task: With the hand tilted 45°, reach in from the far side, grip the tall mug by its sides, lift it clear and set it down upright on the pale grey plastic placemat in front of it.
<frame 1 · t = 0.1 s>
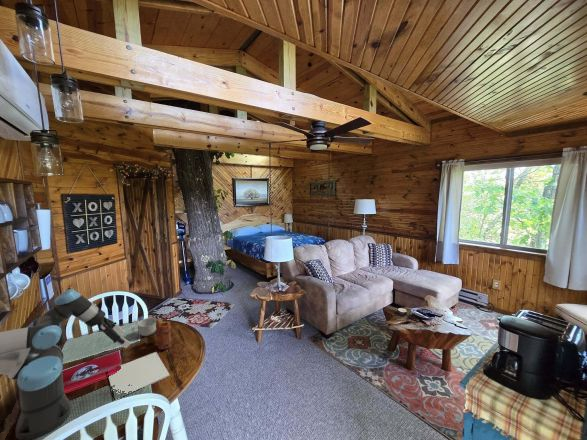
hand: (125, 339, 122), 15 cm above the table, tool tilted 35°, fingers open, 13 cm apart
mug: (163, 345, 143), on the table
teacup: (145, 334, 154), on the table
placemat: (138, 373, 120), on the table
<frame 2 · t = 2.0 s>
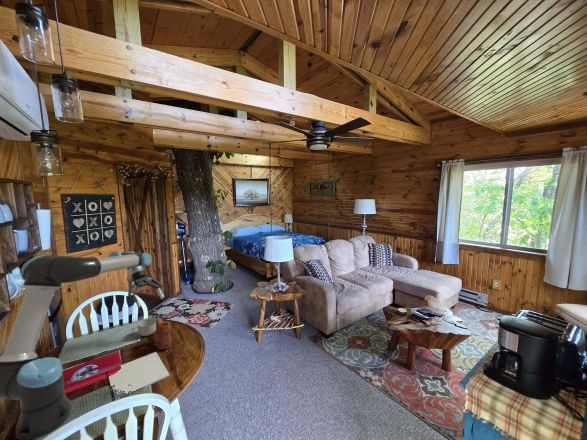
hand: (151, 302, 146), 24 cm above the table, tool tilted 45°, fingers open, 13 cm apart
nothing on the table moved.
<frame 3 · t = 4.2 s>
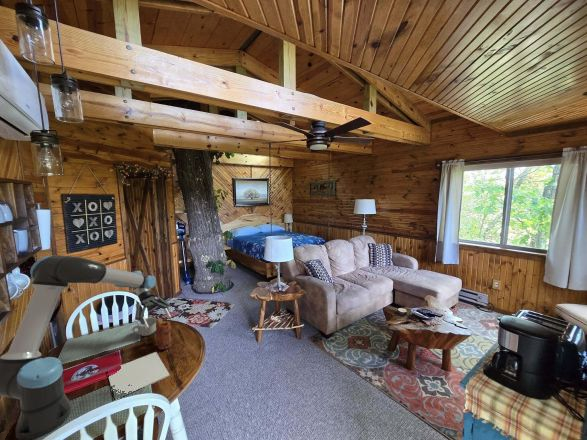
hand: (158, 322, 145), 12 cm above the table, tool tilted 45°, fingers open, 13 cm apart
nothing on the table moved.
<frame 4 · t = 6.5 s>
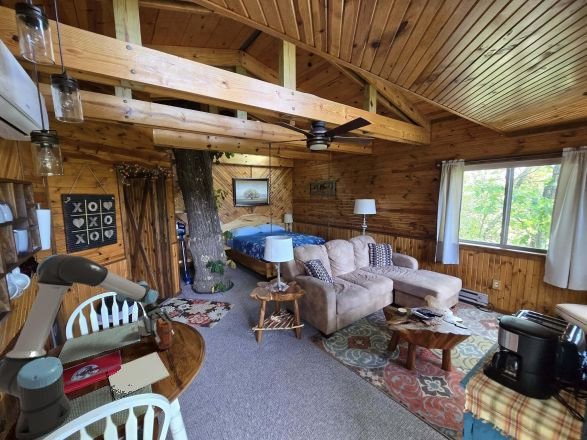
hand: (166, 338, 141), 6 cm above the table, tool tilted 45°, fingers closed on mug, 8 cm apart
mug: (163, 345, 143), on the table, touching gripper
everything else where it was.
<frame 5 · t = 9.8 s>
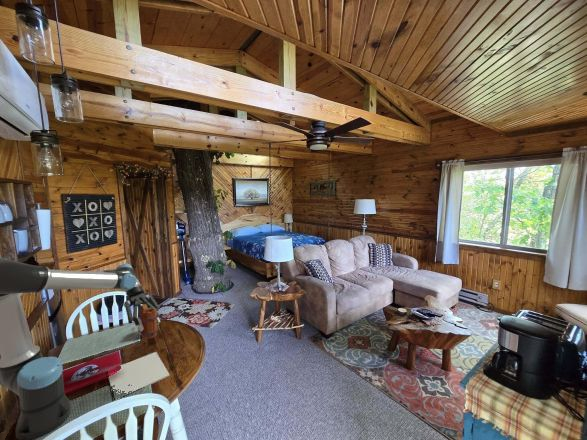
hand: (150, 326, 124), 21 cm above the table, tool tilted 45°, fingers closed on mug, 8 cm apart
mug: (147, 334, 126), point 15 cm above the table, touching gripper
everything else where it was.
when the fingers open (7 cm above the table, at t = 13.3 s): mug drops 1 cm, resting on placemat.
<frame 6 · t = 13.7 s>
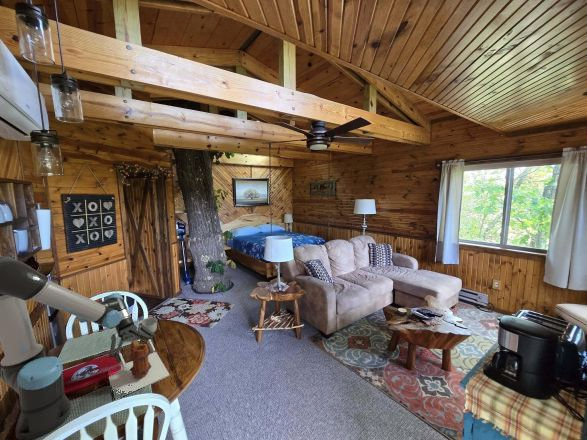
hand: (139, 359, 118), 9 cm above the table, tool tilted 45°, fingers open, 13 cm apart
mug: (139, 372, 120), resting on placemat
everything else where it was.
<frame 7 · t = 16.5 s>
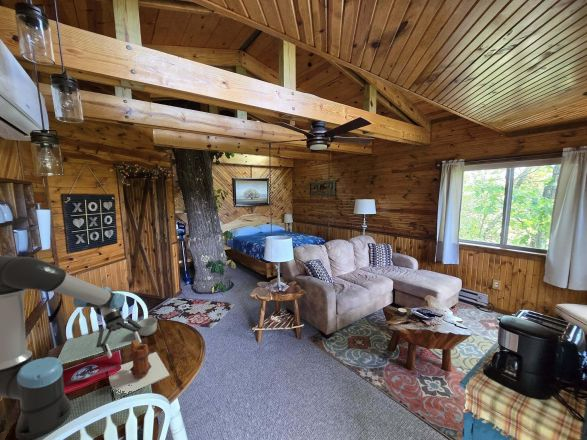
hand: (126, 349, 124), 9 cm above the table, tool tilted 45°, fingers open, 13 cm apart
nothing on the table moved.
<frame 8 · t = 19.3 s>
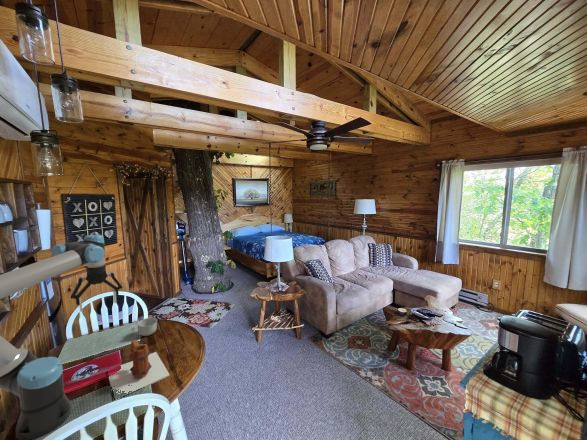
hand: (98, 306, 123), 32 cm above the table, tool pointing down, fingers open, 13 cm apart
nothing on the table moved.
at the end: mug inside the target area on the placemat (0.6 cm from its centre), point 0.4 cm above the placemat's base; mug tilted 0°; the gripper is holding nothing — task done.
